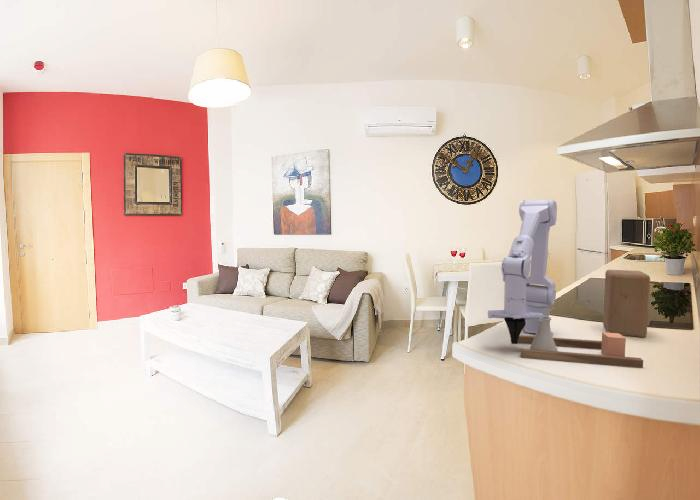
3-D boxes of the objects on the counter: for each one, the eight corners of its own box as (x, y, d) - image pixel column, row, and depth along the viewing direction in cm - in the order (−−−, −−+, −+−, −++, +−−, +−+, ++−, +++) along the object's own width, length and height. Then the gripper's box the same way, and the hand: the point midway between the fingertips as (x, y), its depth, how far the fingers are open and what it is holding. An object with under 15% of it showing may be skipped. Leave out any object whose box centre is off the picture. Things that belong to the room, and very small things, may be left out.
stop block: (601, 352, 97) (602, 332, 97) (617, 354, 96) (618, 333, 96) (607, 358, 94) (608, 337, 93) (624, 359, 92) (625, 338, 92)
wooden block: (607, 334, 112) (610, 273, 110) (602, 325, 121) (605, 269, 119) (647, 338, 107) (651, 275, 105) (638, 329, 116) (642, 270, 114)
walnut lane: (513, 341, 108) (513, 334, 108) (619, 348, 100) (619, 342, 100) (521, 357, 95) (521, 350, 95) (642, 367, 87) (643, 360, 87)
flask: (533, 344, 105) (533, 312, 104) (560, 350, 100) (561, 316, 99) (526, 352, 99) (527, 318, 98) (555, 358, 94) (556, 322, 94)
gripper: (489, 299, 99) (488, 345, 100) (546, 302, 94) (544, 350, 96) (487, 294, 105) (486, 337, 107) (540, 296, 101) (538, 341, 102)
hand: (514, 342), depth 102 cm, fingers closed
